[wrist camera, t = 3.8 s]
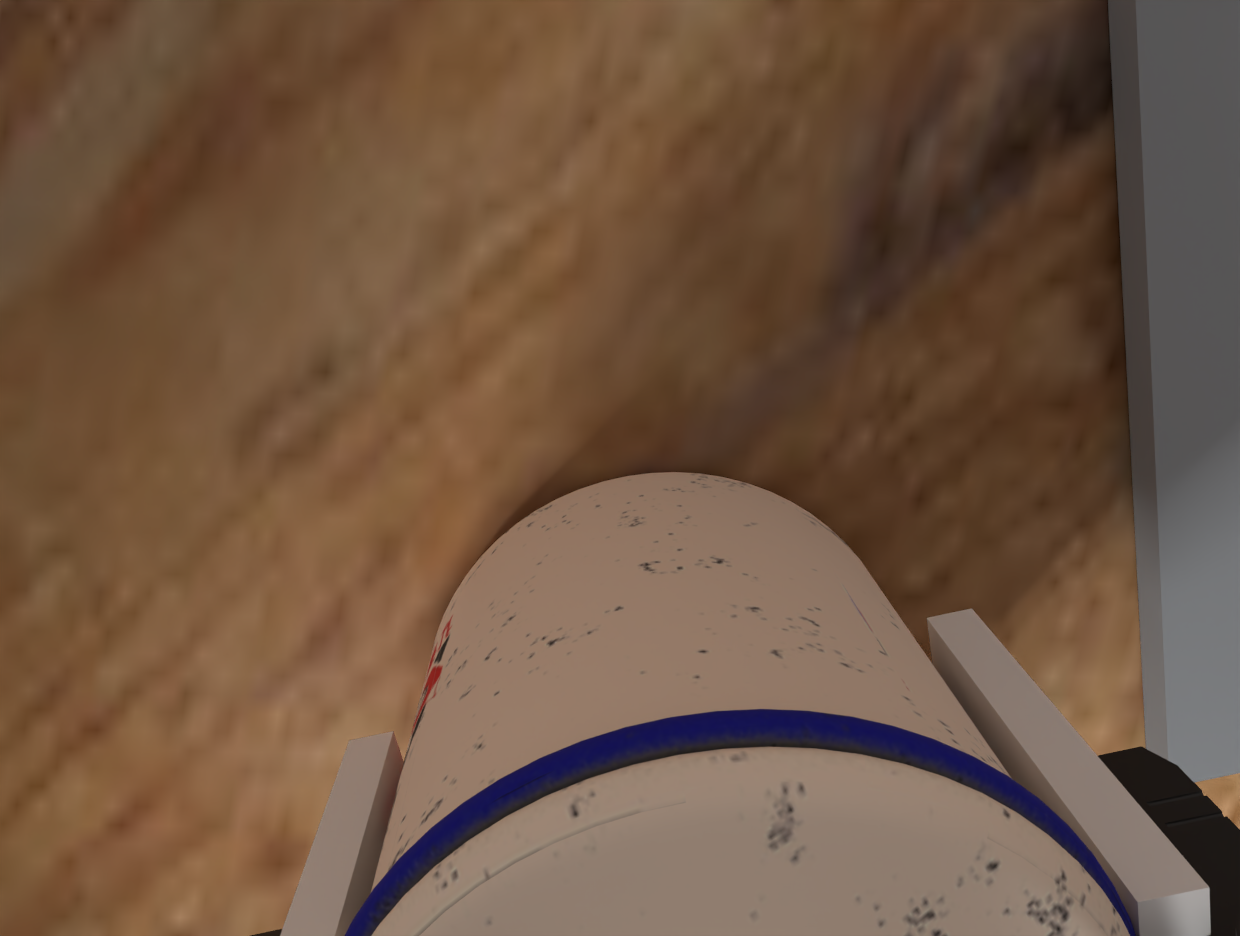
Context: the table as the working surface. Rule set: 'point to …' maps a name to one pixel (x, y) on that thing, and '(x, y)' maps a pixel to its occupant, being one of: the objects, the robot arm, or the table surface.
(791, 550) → the teacup with lid
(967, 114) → the table surface
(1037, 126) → the table surface
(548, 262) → the table surface
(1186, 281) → the slate mat
